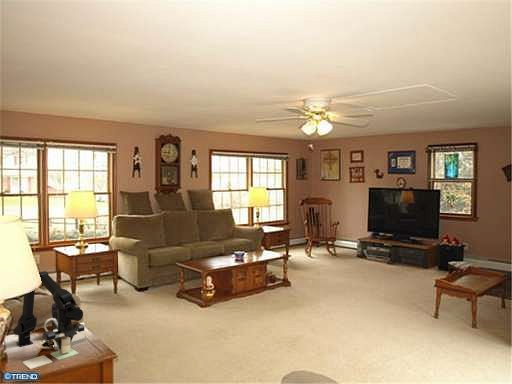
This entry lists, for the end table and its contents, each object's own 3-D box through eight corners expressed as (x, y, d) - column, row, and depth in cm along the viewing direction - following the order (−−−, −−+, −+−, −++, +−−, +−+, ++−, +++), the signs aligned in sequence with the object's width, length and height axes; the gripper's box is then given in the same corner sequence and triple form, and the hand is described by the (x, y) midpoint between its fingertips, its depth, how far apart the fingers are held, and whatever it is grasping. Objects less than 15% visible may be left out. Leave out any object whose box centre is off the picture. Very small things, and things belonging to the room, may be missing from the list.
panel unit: (46, 343, 224) (45, 325, 224) (75, 334, 236) (75, 318, 236) (55, 349, 216) (55, 331, 216) (85, 340, 228) (85, 323, 228)
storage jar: (66, 325, 251) (66, 300, 250) (73, 329, 244) (73, 304, 243) (49, 329, 244) (48, 304, 243) (55, 334, 237) (55, 308, 236)
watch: (61, 337, 232) (61, 318, 231) (45, 341, 226) (45, 321, 226) (57, 334, 236) (57, 315, 235) (42, 338, 230) (42, 319, 230)
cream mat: (22, 362, 201) (22, 361, 201) (43, 355, 209) (43, 355, 209) (30, 369, 195) (30, 368, 195) (52, 362, 202) (52, 361, 202)
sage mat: (50, 354, 211) (50, 353, 211) (69, 348, 219) (69, 347, 218) (58, 360, 204) (58, 359, 204) (78, 353, 212) (78, 352, 212)
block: (58, 350, 212) (58, 337, 211) (66, 348, 215) (66, 335, 214) (62, 353, 208) (62, 340, 208) (70, 351, 211) (70, 337, 211)
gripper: (51, 326, 198) (51, 359, 199) (89, 316, 212) (89, 347, 213) (42, 321, 206) (42, 352, 206) (79, 311, 220) (79, 341, 220)
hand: (64, 348), depth 211 cm, fingers closed on block, 4 cm apart
